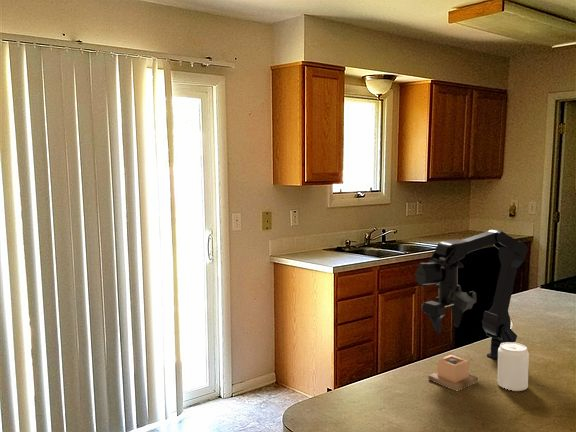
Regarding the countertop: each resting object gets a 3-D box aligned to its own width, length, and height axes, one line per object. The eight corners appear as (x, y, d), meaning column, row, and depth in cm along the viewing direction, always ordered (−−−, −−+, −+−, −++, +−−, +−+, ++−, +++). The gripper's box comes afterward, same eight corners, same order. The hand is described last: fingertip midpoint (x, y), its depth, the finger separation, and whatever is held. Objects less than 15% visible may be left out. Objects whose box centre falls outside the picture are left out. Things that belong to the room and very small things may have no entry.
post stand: (449, 371, 161) (449, 351, 160) (477, 382, 153) (477, 361, 152) (428, 380, 155) (428, 359, 155) (456, 391, 147) (456, 369, 147)
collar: (450, 370, 158) (450, 354, 158) (468, 377, 153) (469, 360, 153) (437, 375, 155) (437, 359, 154) (455, 382, 150) (455, 366, 149)
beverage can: (510, 394, 145) (510, 353, 143) (491, 382, 152) (492, 343, 151) (534, 390, 147) (535, 349, 146) (514, 379, 155) (515, 340, 153)
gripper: (450, 291, 150) (450, 343, 152) (488, 281, 161) (487, 330, 163) (420, 284, 159) (420, 333, 161) (458, 275, 170) (457, 321, 172)
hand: (447, 329), depth 164 cm, fingers open, 9 cm apart
